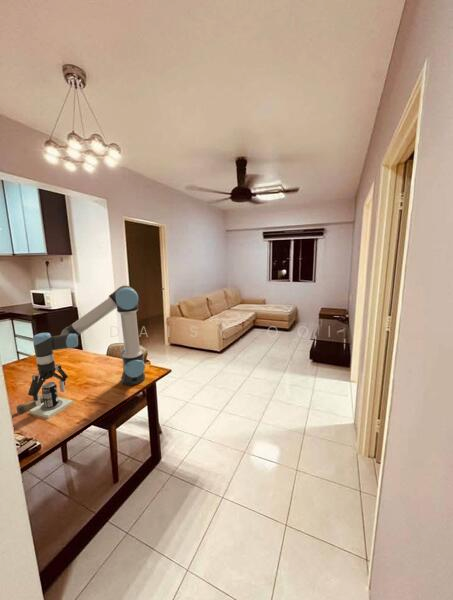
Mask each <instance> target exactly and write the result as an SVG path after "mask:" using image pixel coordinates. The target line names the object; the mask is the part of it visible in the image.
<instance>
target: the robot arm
mask: <svg viewBox="0 0 453 600" xmlns="http://www.w3.org/2000/svg"><path fill="white" fill-rule="evenodd" d="M115 310H116V312H117V313H119V314H120V321H121V328H122V329H121V330H122V337H123V347H124V348H122V349H121V357H122V368H123V371H122V375H121V378H120V381H121V384H122V385H124V386H135V385H139V384H141V383H142V382H144V381H145V380H146V374H145V372H144V371H145V369H146V364H145V361H144V352H143V350H142V349H141V346H140V339H139V338H140V337H139V328H138V319H137V318H138V317H137V312H138V311H139V294H138V293H137V291H136V290H135V289H134V288H133V287H132V286H130V285H122V286H119V287H118V288H117V289H115V290H114V291H113V292H111V294H109V295H108V298H107V299H105V300H104V301H103V302H101V303H100V304H98V305H96V306H95V307H94V308H93V309H91V310H90V311H88V312H87V313H85V314H84V315H83V316H81V317H80V318H78V319H77V320H75V322H73V323H72V324H70V325H68V326H65V328H63V329H62V330H61V332H60V334H59V335H51V333H49V332H40V333H37V334H35V335H34V336H33V337H32V338H33V339H32V340H33V341H32V342H33V348H34V353H35V359H36V360H35V361H36V366H37V371H38V374H35V375H32V377H31V379H32V380H31V383H30V387H29V390H28V393H27V395H28V396H30V397H32V400H34V401H35V402H36V405H37V406H41V401H40V396H41V395H40V393H39V392H40V390H41V389H42V388H43V387H42V386H43V385H44V384H45V382H46V380H49V379H50V378H53V377H54V378H56V379H58V380H59V381H58V383H59V390H60V392H61V393H65V392H66V389H65V388H66V381H67V379H68V378H69V376H68V375H67V374H66V372H65V371H64V370H63V369H62V366H61V365H58V364H56V362H55V357H54V356H55V355H54V351H58V350H65V349H73V348H77V347H78V346H79V336H80V335H81V334H82V333H84V332H86V331H87V330H88V329H90V328H91V327H92V326H93V325H95V324H96V323H98V322H99V321H100V320H102V319H103V318H105V317H106V316H107V315H109V314H110V313H112V312H113V311H115ZM56 371H57V372H58V373H59V374H58V373H57V372H56Z"/></svg>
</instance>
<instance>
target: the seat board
mask: <svg viewBox="0 0 453 600" xmlns="http://www.w3.org/2000/svg"><path fill="white" fill-rule="evenodd" d="M58 399H59V402H58V404H57V405H56V406H54V407H50V408H47V407H45V406H44V403H42V404H41V406H36V407H34V408H32V409H30V410H29V413H30V414H31V415H32V414H33V415H35V416H39V417H43V418H45V419H51V418H52V417H53V416H55V415H57V414H59V413H60V412H61V411H63V410H65V409H66V408H68V407H69V406H71V405H73V404H74V400H71V399H67V398H64V397H59V396H58Z"/></svg>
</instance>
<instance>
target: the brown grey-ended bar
mask: <svg viewBox="0 0 453 600" xmlns="http://www.w3.org/2000/svg"><path fill="white" fill-rule="evenodd" d="M40 401H41V404H42V403H44V401H43V394H42V395H40ZM36 406H37V405H36V402H35V401H34V400H33V399H31V400H29V401H26V402H24V403H23V404H20V405H17V406H16V412H17V413H18V414H19V415H21V414H23V413H25V412H27V411H30V410H31V409H33V408H35V407H36Z"/></svg>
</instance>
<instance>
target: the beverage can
mask: <svg viewBox="0 0 453 600" xmlns="http://www.w3.org/2000/svg"><path fill="white" fill-rule="evenodd" d="M58 393H59V392H58V387H57V384H56V382H54V381H50V382H46V383H43V385H42V387H41V394H42V395H43V401H44V406H45V407H47V408H50V407H54V406H56V405H57V404H58V402H59V399H58V397H59V394H58Z"/></svg>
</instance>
